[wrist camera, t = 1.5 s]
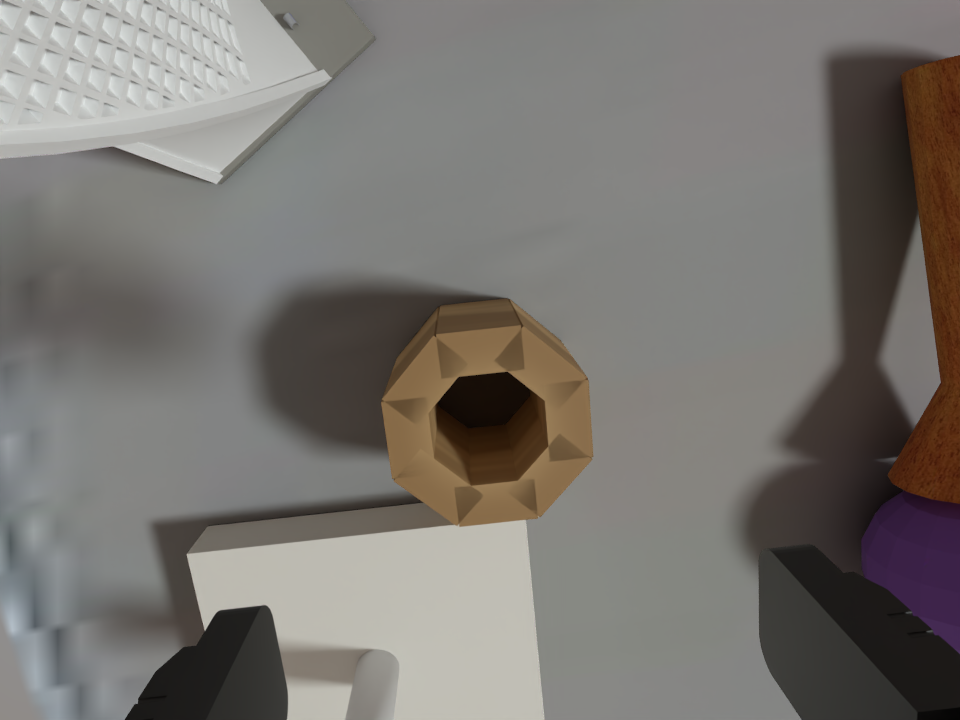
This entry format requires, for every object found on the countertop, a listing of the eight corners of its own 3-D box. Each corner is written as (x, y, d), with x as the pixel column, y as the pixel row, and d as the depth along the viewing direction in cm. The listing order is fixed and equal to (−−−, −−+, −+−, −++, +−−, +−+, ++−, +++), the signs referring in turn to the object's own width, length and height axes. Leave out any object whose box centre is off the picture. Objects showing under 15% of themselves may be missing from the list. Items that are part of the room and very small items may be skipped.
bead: (389, 310, 23) (372, 341, 18) (557, 293, 23) (584, 318, 18) (411, 467, 25) (400, 533, 20) (569, 450, 25) (596, 512, 20)
